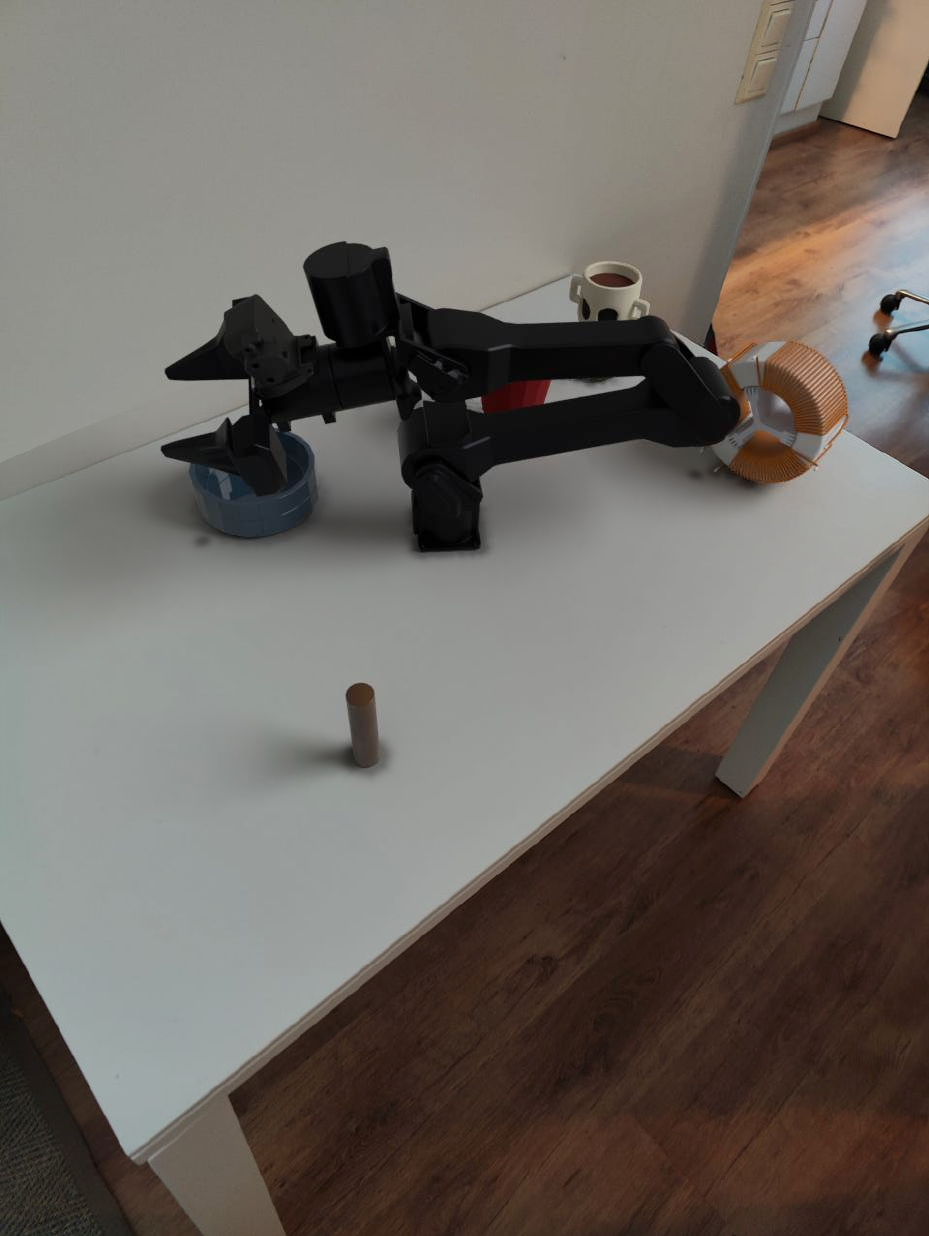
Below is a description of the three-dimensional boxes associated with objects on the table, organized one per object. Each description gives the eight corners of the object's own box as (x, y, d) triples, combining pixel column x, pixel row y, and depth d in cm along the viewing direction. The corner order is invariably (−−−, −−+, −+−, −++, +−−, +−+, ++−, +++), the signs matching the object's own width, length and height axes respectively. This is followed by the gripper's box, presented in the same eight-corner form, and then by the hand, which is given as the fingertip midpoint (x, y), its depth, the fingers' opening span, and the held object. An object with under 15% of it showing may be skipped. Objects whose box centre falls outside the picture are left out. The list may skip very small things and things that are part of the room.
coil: (709, 428, 100) (744, 315, 89) (823, 483, 94) (877, 369, 83) (679, 454, 97) (712, 340, 85) (796, 513, 90) (848, 398, 79)
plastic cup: (571, 422, 100) (585, 332, 91) (527, 469, 94) (537, 378, 85) (495, 393, 104) (501, 303, 95) (448, 436, 98) (450, 345, 88)
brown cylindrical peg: (379, 744, 70) (374, 681, 63) (380, 766, 68) (375, 705, 61) (353, 745, 70) (345, 683, 63) (354, 768, 68) (345, 707, 61)
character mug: (546, 367, 108) (558, 271, 98) (575, 344, 112) (589, 249, 102) (619, 398, 104) (638, 301, 94) (646, 373, 108) (667, 277, 98)
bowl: (320, 460, 94) (315, 424, 90) (318, 538, 86) (312, 502, 82) (206, 464, 93) (196, 428, 89) (192, 543, 85) (181, 507, 81)
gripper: (305, 228, 69) (126, 265, 70) (317, 388, 60) (111, 429, 61) (339, 330, 79) (181, 362, 79) (353, 482, 70) (176, 517, 70)
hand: (164, 411), depth 72 cm, fingers open, 9 cm apart
